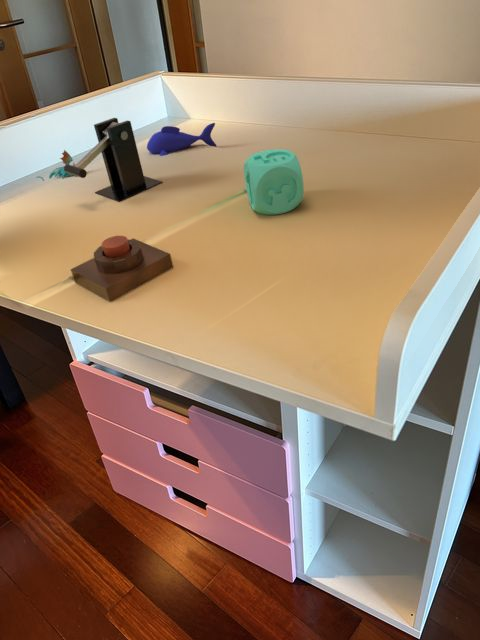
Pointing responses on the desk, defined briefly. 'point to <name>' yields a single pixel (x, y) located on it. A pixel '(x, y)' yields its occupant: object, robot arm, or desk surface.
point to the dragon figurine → (60, 170)
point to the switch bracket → (122, 162)
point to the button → (115, 246)
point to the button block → (121, 270)
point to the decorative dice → (273, 181)
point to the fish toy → (176, 140)
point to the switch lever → (89, 156)
